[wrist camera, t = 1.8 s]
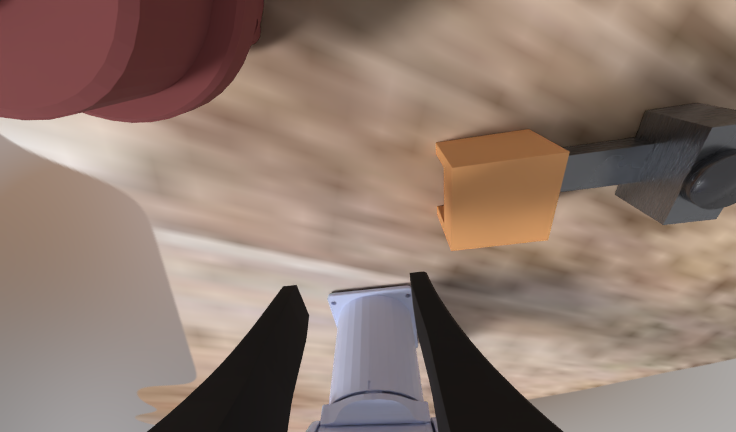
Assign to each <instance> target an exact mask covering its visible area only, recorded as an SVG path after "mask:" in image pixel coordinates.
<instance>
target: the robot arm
mask: <svg viewBox="0 0 736 432" xmlns="http://www.w3.org/2000/svg"><path fill="white" fill-rule="evenodd" d="M410 281H411V286H397V287H387V288H377V289H368V290H358V291H348V292H338V293H331V294H329V295H328V302H329V305H330V308H331V311H332V314H333V317H334V320H335V323H336V326H337V338H336V346H335V355H334V364H333V373H332V382H331V391H330V399H329V404H326V405H323V406H322V414H321V421H314V422H312V423H311V424H310V426H309V427H308V429H307V430H306V432H563V431H562V430H561V429H560V428H558V427H557V426H556V425H555V424H554V423H552V422H551V421H550V420H549V419H548V418H547V417H546V416H544V415H543V414H542V413H541V412H540V411H539V410H538V409H536V408H535V407H534V406H533V405H532V404H531V403H530V402H529V401H528V400H527V399H526V398H525V397H524V396H523V395H521V394H520V393H519V392H518V391H517V390H516V389H515V388H514V387H513V386H512V385H511V384H510V383H509V382H508V381H507V380H506V379H505V378H504V377H503V376H502V375H501V374H500V373H499V372H498V371H497V370H496V369H495V368H494V367H493V366H492V364H491V363H490V362H489V361H488V360H487V359H486V358H485V357H484V356H483V355H482V353H481V352H480V351H479V350H478V349H477V348H476V347H475V345H474V344H473V343H472V342H471V341H470V339H469V338H468V337H467V336H466V334H465V333H464V332H463V330H462V329H461V328H460V327H459V325H458V324H457V323H456V321H455V320H454V318H453V317H452V316H451V314H450V313H449V311H448V310H447V308H446V307H445V305H444V304H443V302H442V301H441V299H440V297H439V296H438V294H437V292H436V291H435V289H434V287H433V285H432V283H431V281H430V279H429V277H428V275H427V273H426V272H415V273H410ZM407 294H408V295H407ZM333 301H335V302H333ZM308 320H309V314H308V312H307V309H306V307H305V304H304V302H303V299H302V297H301V295H300V292H299V290H298V287H297V285H293V286H283V287H282V289H281V290H280V291H279V293H278V294H277V295H276V297H275V298H274V299H273V301H272V302H271V303H270V305H269V306H268V308H267V309H266V310H265V312H264V313H263V314H262V316H261V317H260V318H259V319H258V321H257V322H256V323H255V325H254V326H253V327H252V328H251V330H250V331H249V332H248V334H247V335H246V336H245V337H244V338H243V340H242V341H241V342H240V343H239V344H238V345H237V347H236V348H235V349H234V350H233V351H232V353H231V354H230V355H229V356H228V357H227V358H226V359H225V360H224V361H223V363H222V364H221V365H220V366H219V367H218V368H217V369H216V370H215V371H214V372H213V373H212V374H211V375H210V376H209V377H208V378H207V379H206V380H205V381H204V382H203V383H202V384H201V385H200V386H199V387H198V388H197V389H195V390H194V391H193V392H192V393H191V394H190V395H189V396H188V397H187V398H186V399H185V400H184V401H183V402H182V403H180V404H179V405H178V406H177V407H176V408H175V409H174V410H172V411H171V412H170V413H169V414H168V415H167V416H166V417H164V418H163V419H162V420H161V421H160V422H158V423H157V424H156V425H155V426H154V427H152V428H151V429H150V430H149V431H147V432H287V430H288V423H289V416H290V410H291V403H292V398H293V393H294V389H295V385H296V381H297V376H298V372H299V368H300V364H301V360H302V356H303V351H304V347H305V343H306V338H307V330H308ZM416 329H417V330H416ZM417 333H418V337H419V341H420V346H421V350H422V354H423V358H424V362H425V366H426V370H427V374H428V378H429V382H430V386H431V391H432V396H433V402H434V408H435V414H436V417H432V418H431V419H430V413H429V407H428V402H426V401H424V399H423V393H422V386H421V379H420V373H419V366H418V359H417V352H416V348H417V347H418V340H417Z"/></svg>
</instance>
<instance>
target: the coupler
mask: <svg viewBox="0 0 736 432" xmlns="http://www.w3.org/2000/svg"><path fill="white" fill-rule="evenodd" d="M563 148H564V149H566V150H567V151H569V152H570V153H569V157H568V161H567V165H566V169H565V173H564V177H563V181H562V185H561V189H560V192H564V191H572V190H580V189H588V188H596V187H604V186H611V185H618V187H617V190H616V193H615V195H616V196H618V197H619V198H621V199H623V200H624V201H626V202H627V203H629V204H631V205H632V206H634V207H635V208H637V209H639V210H640V211H642V212H643V213H645V214H647V215H648V216H650V217H651V218H653V219H654V220H656V221H658V222H659V223H661V224H662V225H667V224H676V223H685V222H694V221H702V220H711V219H717V217H718V215H719V214H720V212H721V211H722V209H723V208H724V207H727V206H730V205H732V204H734V203H736V110H732V109H727V108H722V107H717V106H711V105H706V104H701V103H694V104H687V105H680V106H674V107H667V108H660V109H653V110H646V111H645V113H644V116H643V119H642V122H641V124H640V127H639V130H638V133H637V135H636V137H635V138H628V139H620V140H613V141H606V142H599V143H592V144H585V145H577V146H570V147H563Z"/></svg>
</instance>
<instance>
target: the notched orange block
mask: <svg viewBox="0 0 736 432" xmlns="http://www.w3.org/2000/svg"><path fill="white" fill-rule="evenodd" d="M569 153H570V152H569V151H567V150H566V149H564V148H562V147H560V146H558V145H557V144H555V143H553V142H551V141H549V140H548V139H546V138H544V137H542V136H540V135H539V134H537V133H535V132H533V131H531V130H530V129H525V130H519V131H512V132H505V133H498V134H491V135H484V136H478V137H471V138H464V139H457V140H450V141H443V142H437V143H436V155H437V156H438V158H439V160H440V162H441V163H442V165H443V167H444V205H443V206H437V215H438V218H439V220H440V223H441V225H442V228H443V231H444V233H445V236H446V238H447V241H448V244H449V246H450V249H451V251H455V250H464V249H473V248H482V247H491V246H500V245H509V244H518V243H527V242H535V241H544V240H548V238H549V234H550V230H551V226H552V222H553V218H554V214H555V210H556V206H557V202H558V198H559V193H560V189H561V185H562V181H563V177H564V173H565V169H566V165H567V161H568V157H569Z"/></svg>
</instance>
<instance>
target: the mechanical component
mask: <svg viewBox="0 0 736 432" xmlns="http://www.w3.org/2000/svg"><path fill="white" fill-rule="evenodd" d="M263 7H264V0H0V117H4V118H12V119H20V120H50V119H55V118H60V117H64V116H69V115H73V114H77V113H81V112H83V113H85V114H88V115H91V116H96V117H100V118H104V119H108V120H113V121H122V122H131V123H138V122H154V121H160V120H165V119H170V118H172V117H175V116H178V115H180V114H183V113H186V112H188V111H191V110H194V109H196V108H198V107H200V106H202V105H204V104H206V103H208V102H210V101H211V100H212V99H214V98H215V97H217V96H218V95H219V94H221V93H222V92H223V91H224V90H225V89H226V87H227V86H228V85H229V84H230V83H231V82H232V81H233V80H234V78H235V77H236V75H237V73H238V72H239V70H240V69H241V67H242V65H243V64H244V61H245V59H246V56H247V54H248V52H249V49H250V47H251V45H252V44H255V43H256V42H257V41H258V39H259V37H260V33H261V29H260V22H261V18H262V13H263Z"/></svg>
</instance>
